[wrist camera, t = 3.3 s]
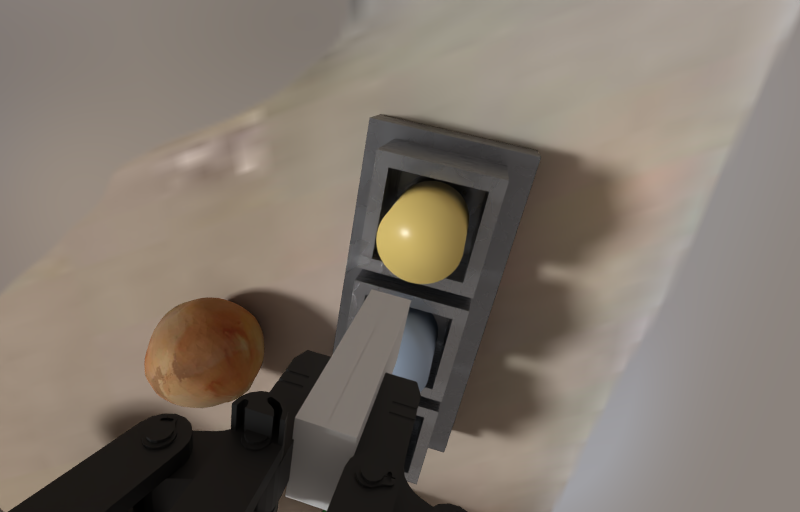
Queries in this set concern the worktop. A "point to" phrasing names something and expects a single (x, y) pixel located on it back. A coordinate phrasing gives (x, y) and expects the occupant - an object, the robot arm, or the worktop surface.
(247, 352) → the onion
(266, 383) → the worktop surface
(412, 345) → the slate button
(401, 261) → the mustard button
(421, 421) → the grey frame
